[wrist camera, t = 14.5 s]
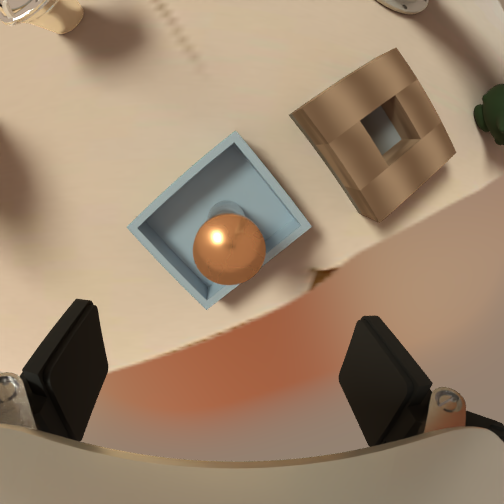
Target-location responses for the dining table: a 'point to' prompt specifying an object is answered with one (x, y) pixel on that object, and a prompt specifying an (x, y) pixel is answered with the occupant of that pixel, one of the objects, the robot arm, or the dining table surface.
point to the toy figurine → (492, 113)
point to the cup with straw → (42, 13)
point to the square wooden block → (377, 134)
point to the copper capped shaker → (228, 245)
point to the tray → (200, 202)
